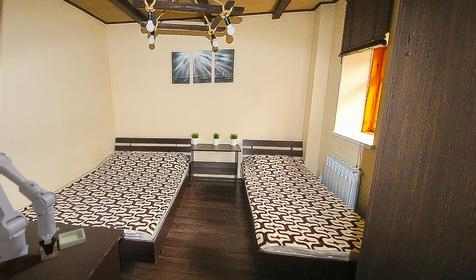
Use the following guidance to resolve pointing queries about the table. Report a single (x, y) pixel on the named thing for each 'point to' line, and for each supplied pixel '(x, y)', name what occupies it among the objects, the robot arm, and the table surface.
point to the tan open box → (44, 257)
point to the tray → (72, 238)
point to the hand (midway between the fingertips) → (49, 250)
